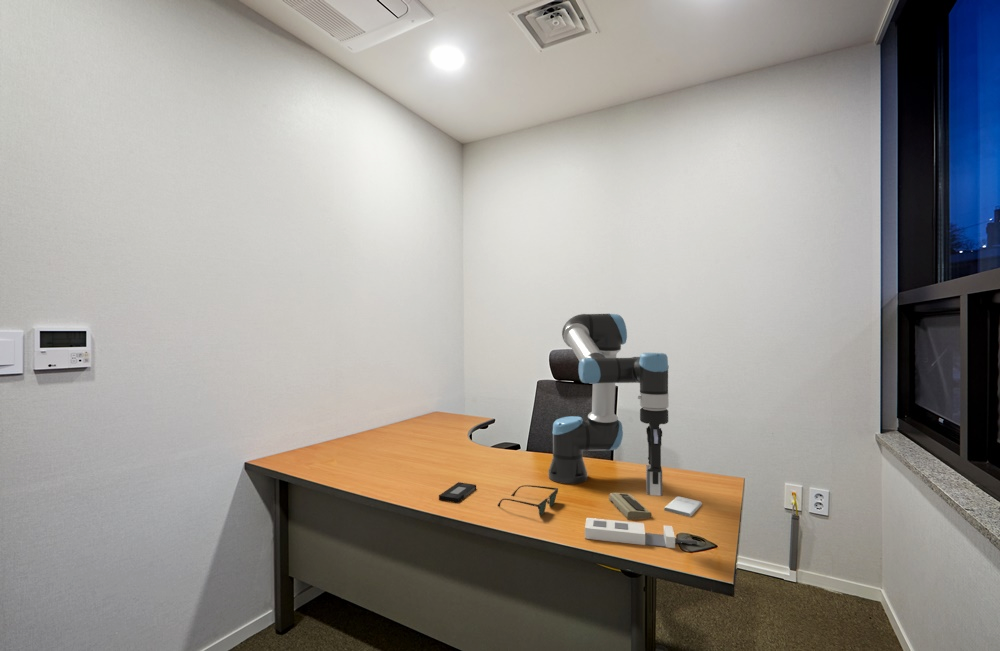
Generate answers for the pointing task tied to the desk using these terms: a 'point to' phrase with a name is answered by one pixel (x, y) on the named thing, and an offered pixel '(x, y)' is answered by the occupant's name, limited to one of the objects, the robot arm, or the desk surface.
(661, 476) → the charger
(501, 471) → the desk surface
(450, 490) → the vhs tape
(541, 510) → the sunglasses
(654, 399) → the robot arm
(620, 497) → the computer
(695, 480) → the desk surface
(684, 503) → the external hard drive
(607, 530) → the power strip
